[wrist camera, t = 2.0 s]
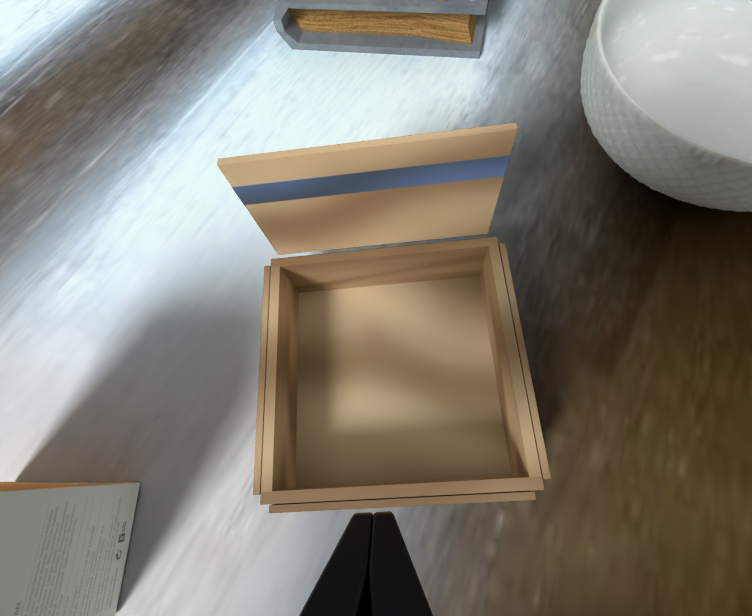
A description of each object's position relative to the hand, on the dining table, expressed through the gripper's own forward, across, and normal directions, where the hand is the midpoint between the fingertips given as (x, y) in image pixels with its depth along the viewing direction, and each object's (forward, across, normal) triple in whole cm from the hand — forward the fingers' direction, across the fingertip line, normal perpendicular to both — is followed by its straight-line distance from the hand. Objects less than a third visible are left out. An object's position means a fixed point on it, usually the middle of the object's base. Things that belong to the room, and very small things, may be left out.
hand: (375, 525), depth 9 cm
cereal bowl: (+24, -20, -5) cm, 32 cm away
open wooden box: (+14, 0, +5) cm, 14 cm away
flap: (+12, 0, -5) cm, 13 cm away
